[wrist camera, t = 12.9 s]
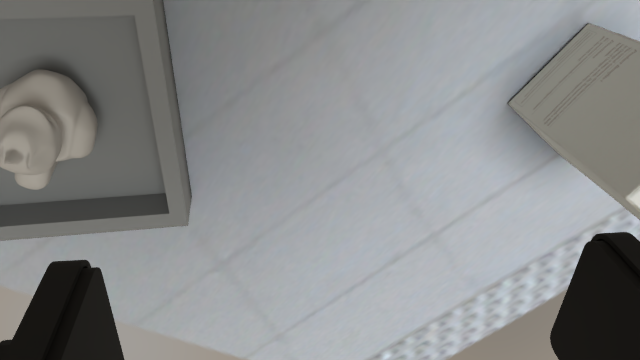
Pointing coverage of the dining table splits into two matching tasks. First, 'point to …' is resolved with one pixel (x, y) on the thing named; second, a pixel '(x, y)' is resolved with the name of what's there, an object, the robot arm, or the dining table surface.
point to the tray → (100, 118)
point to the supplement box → (592, 110)
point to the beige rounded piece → (43, 126)
